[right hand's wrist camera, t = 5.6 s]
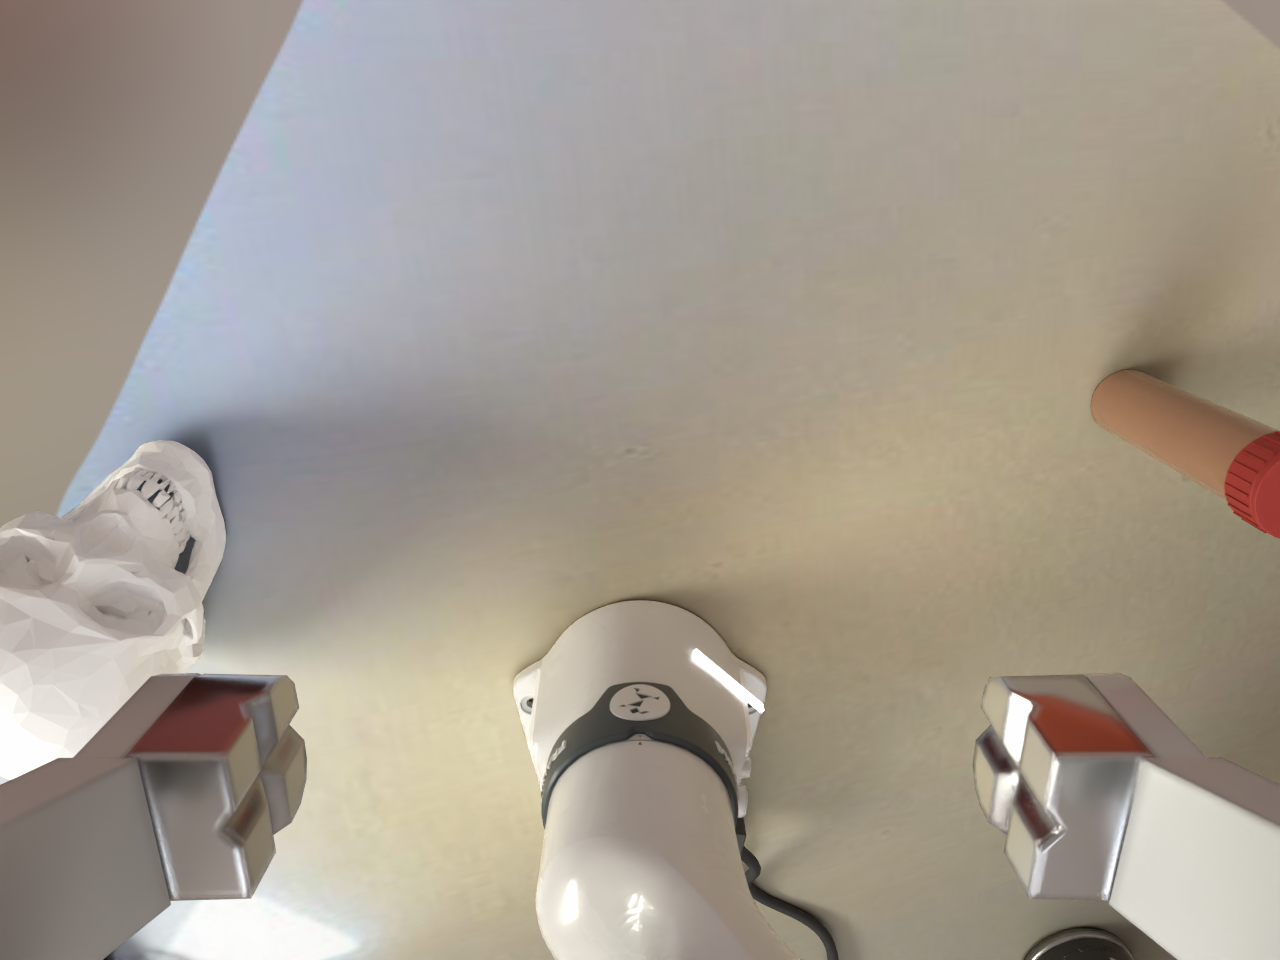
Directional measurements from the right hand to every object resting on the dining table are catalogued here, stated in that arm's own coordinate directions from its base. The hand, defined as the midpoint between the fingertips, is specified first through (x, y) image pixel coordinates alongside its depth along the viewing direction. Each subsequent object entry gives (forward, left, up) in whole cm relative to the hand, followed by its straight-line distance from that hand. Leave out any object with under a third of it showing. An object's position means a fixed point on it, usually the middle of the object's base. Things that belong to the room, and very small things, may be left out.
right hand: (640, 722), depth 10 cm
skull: (-21, +35, -48) cm, 63 cm away
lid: (-9, -32, -31) cm, 46 cm away
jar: (-9, -32, -48) cm, 58 cm away
